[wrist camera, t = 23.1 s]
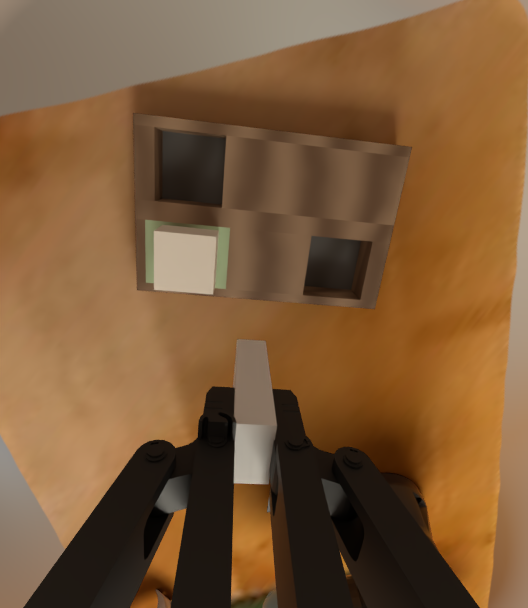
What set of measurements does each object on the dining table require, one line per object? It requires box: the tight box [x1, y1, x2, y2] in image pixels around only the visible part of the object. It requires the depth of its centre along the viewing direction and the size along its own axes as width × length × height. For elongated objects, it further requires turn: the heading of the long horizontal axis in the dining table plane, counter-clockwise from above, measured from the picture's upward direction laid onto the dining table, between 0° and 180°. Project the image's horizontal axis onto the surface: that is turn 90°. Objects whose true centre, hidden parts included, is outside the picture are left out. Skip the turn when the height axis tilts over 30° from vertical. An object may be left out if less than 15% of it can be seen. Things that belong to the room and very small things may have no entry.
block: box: [154, 225, 219, 295], centre depth 37 cm, size 6×6×4 cm
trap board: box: [133, 113, 412, 309], centre depth 40 cm, size 28×18×4 cm, turn 84°
